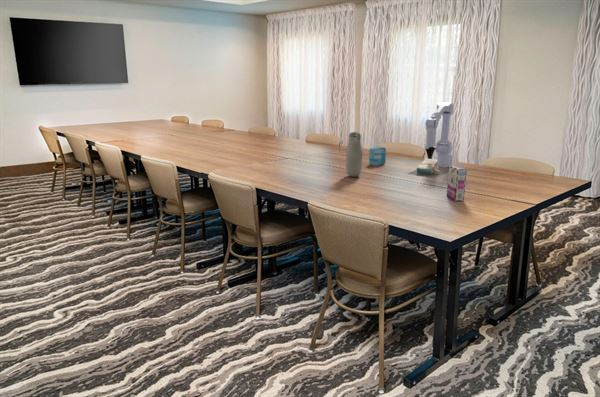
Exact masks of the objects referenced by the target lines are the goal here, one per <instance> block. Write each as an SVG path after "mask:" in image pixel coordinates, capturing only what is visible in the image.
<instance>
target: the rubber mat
mask: <svg viewBox="0 0 600 397" xmlns="http://www.w3.org/2000/svg"><path fill="white" fill-rule="evenodd" d="M447 173H448V171H446V170H438V169H436V170H435V171H434V172H433V173H432V175H422V174H417V169H415V170H412V171H410V172H408V173H407V174H408V175H415V176H422V177H423V176H424V177H429V178H439V177H442V176H443V175H446V174H447Z"/></svg>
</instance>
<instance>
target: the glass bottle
mask: <svg viewBox="0 0 600 397" xmlns="http://www.w3.org/2000/svg"><path fill="white" fill-rule="evenodd" d="M361 139H362V135H361V133H360V132H358V131H353V132H350V133H349V135H348V142H347V147H346V152H345V172H346V174H347V176H348V177H352V178H355V177H356V178H357V177H359V176H360V175H361V173H362V169H363V154H364V152H363V147H362V142H361Z"/></svg>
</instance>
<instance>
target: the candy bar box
mask: <svg viewBox="0 0 600 397" xmlns="http://www.w3.org/2000/svg"><path fill="white" fill-rule="evenodd" d="M447 178H448V179H447V188H446V190H447V191H446V198H447V197H448V199H451V200H452V201H454V202H464V200H465V193H466V192H465V191H466V181H467V169H466V168H464V167H462V166H459V165H452V166H449V167H448V176H447Z"/></svg>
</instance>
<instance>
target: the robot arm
mask: <svg viewBox="0 0 600 397" xmlns="http://www.w3.org/2000/svg"><path fill="white" fill-rule="evenodd" d="M454 107H455V105H454V103H453V101H452V102H446V101H445V102H441V101H439V102H437V104H436V111H435V112H433V113H432V115H431V116H430V118H427V119H426V121H425V129H426V138H425V143H424V150H425V151H426V157H427V159H428V160H432V158H433V155H434V153H435V152H436V154H437V161H436V162H437V168H449V166H453V154H452V151H453V143H452V141H451V140H450V139H449V134H450V132H449V131H450V121H451V116H452V115H454ZM441 119H442V122H441V133H440V139H439V140H438V141H437V140H436V138H437V128H438V127H439V122H440V120H441ZM436 141H437V142H436Z"/></svg>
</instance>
